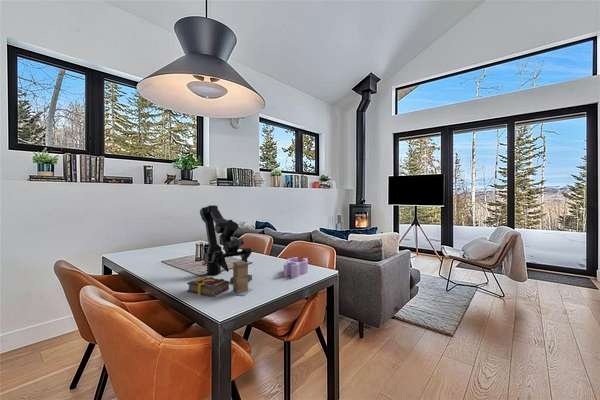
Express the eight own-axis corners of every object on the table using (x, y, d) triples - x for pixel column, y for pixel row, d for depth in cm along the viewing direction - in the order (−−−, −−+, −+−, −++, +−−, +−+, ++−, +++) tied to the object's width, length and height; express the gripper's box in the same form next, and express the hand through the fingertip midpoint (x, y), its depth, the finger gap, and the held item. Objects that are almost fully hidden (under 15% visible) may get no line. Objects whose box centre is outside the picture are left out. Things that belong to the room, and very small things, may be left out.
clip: (299, 279, 144) (299, 266, 144) (278, 276, 149) (278, 264, 148) (311, 269, 163) (311, 258, 163) (292, 267, 167) (292, 256, 167)
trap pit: (230, 282, 137) (230, 278, 137) (238, 278, 145) (238, 273, 145) (244, 284, 135) (244, 279, 135) (252, 279, 143) (252, 274, 143)
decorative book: (205, 285, 135) (205, 275, 134) (231, 290, 128) (231, 279, 127) (186, 292, 124) (186, 281, 124) (213, 298, 117) (213, 286, 117)
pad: (228, 294, 122) (228, 292, 122) (237, 288, 129) (237, 287, 129) (244, 295, 120) (244, 294, 119) (252, 289, 127) (252, 288, 127)
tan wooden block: (233, 290, 125) (233, 262, 125) (243, 288, 128) (243, 260, 128) (237, 293, 121) (237, 264, 121) (247, 291, 124) (247, 262, 124)
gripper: (213, 234, 125) (222, 263, 117) (250, 231, 136) (261, 257, 128) (208, 248, 132) (216, 276, 123) (243, 244, 143) (253, 270, 134)
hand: (237, 269), depth 127 cm, fingers open, 9 cm apart
